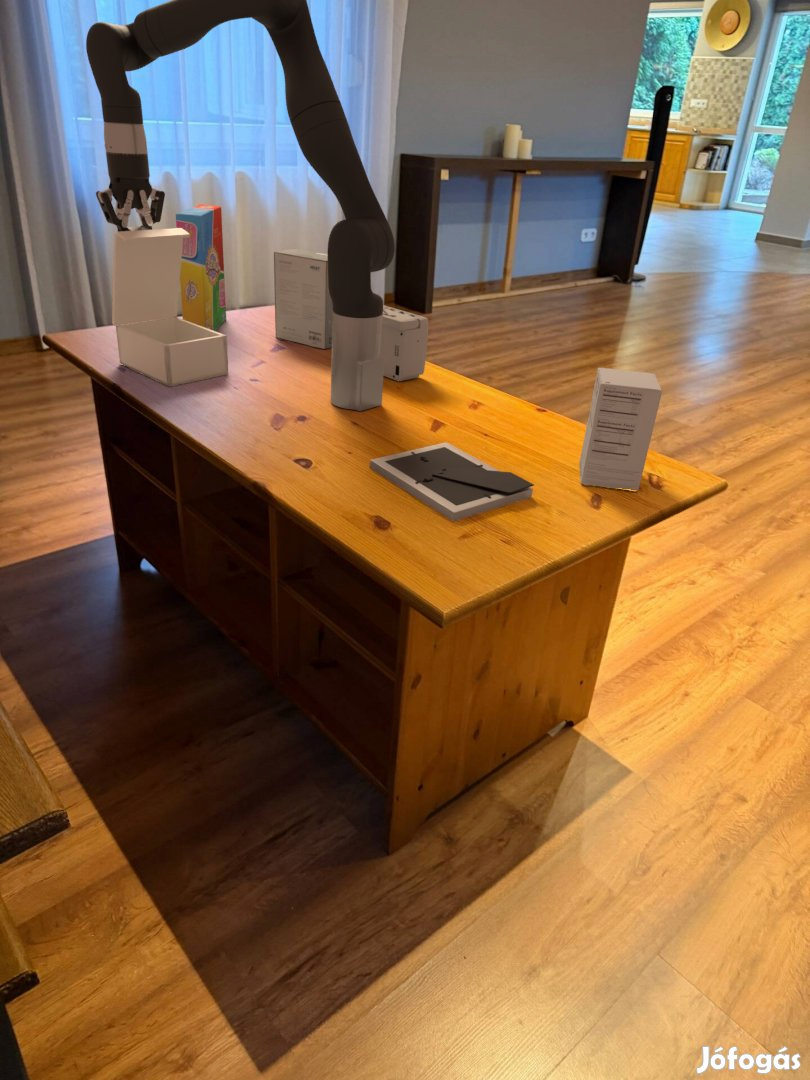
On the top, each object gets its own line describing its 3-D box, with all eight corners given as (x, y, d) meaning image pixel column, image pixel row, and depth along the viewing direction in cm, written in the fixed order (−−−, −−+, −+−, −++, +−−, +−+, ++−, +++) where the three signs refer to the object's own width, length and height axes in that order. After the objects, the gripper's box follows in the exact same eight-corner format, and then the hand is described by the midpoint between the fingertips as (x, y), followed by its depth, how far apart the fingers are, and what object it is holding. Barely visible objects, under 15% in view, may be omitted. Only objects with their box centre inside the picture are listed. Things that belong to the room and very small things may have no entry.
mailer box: (228, 374, 158) (226, 335, 154) (169, 387, 148) (165, 346, 144) (178, 353, 168) (175, 316, 164) (120, 364, 158) (115, 325, 154)
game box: (206, 341, 178) (199, 215, 165) (183, 339, 178) (174, 213, 164) (226, 319, 196) (221, 205, 183) (205, 318, 196) (198, 203, 183)
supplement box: (638, 493, 120) (664, 390, 112) (579, 486, 121) (600, 383, 113) (633, 469, 128) (656, 372, 120) (578, 462, 129) (597, 365, 121)
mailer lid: (191, 234, 151) (168, 217, 154) (124, 238, 141) (101, 220, 145) (183, 322, 163) (163, 305, 166) (121, 331, 153) (100, 313, 156)
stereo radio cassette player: (425, 378, 165) (434, 282, 155) (399, 385, 159) (406, 286, 149) (359, 355, 177) (362, 265, 167) (332, 360, 171) (334, 268, 161)
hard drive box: (344, 344, 183) (347, 257, 174) (325, 350, 178) (326, 261, 168) (294, 331, 190) (293, 247, 180) (273, 337, 184) (272, 250, 175)
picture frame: (531, 501, 117) (445, 453, 131) (533, 484, 115) (446, 438, 129) (452, 525, 108) (369, 471, 122) (454, 507, 107) (370, 455, 121)
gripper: (101, 151, 137) (113, 251, 146) (170, 152, 147) (178, 246, 155) (80, 148, 142) (93, 246, 150) (149, 149, 151) (158, 241, 159)
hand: (136, 246), depth 152 cm, fingers closed on mailer lid, 4 cm apart
